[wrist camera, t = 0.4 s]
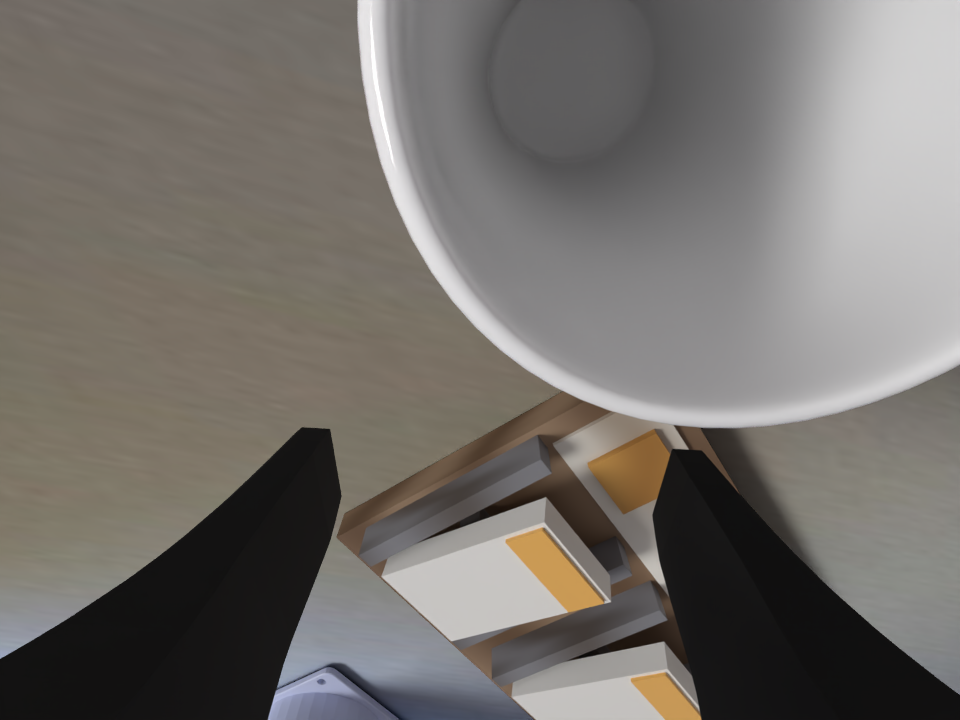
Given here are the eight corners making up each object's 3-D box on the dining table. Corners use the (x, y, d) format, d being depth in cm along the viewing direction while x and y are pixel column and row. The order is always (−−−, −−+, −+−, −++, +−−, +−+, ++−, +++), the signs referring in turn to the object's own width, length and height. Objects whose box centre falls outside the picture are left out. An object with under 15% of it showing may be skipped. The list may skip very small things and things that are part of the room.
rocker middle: (564, 720, 29) (563, 748, 28) (513, 672, 27) (511, 700, 26) (710, 698, 26) (715, 729, 25) (663, 641, 24) (668, 672, 23)
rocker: (456, 616, 25) (450, 644, 24) (389, 553, 24) (380, 579, 22) (610, 575, 22) (611, 605, 21) (546, 497, 20) (544, 525, 19)
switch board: (621, 778, 36) (632, 835, 33) (344, 513, 26) (327, 565, 23) (864, 699, 32) (900, 758, 29) (648, 343, 21) (671, 381, 19)
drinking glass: (647, 192, 19) (1039, 460, 5) (453, 181, 19) (361, 423, 5) (693, -48, 16) (1886, -820, 2) (460, -63, 16) (285, -950, 2)
